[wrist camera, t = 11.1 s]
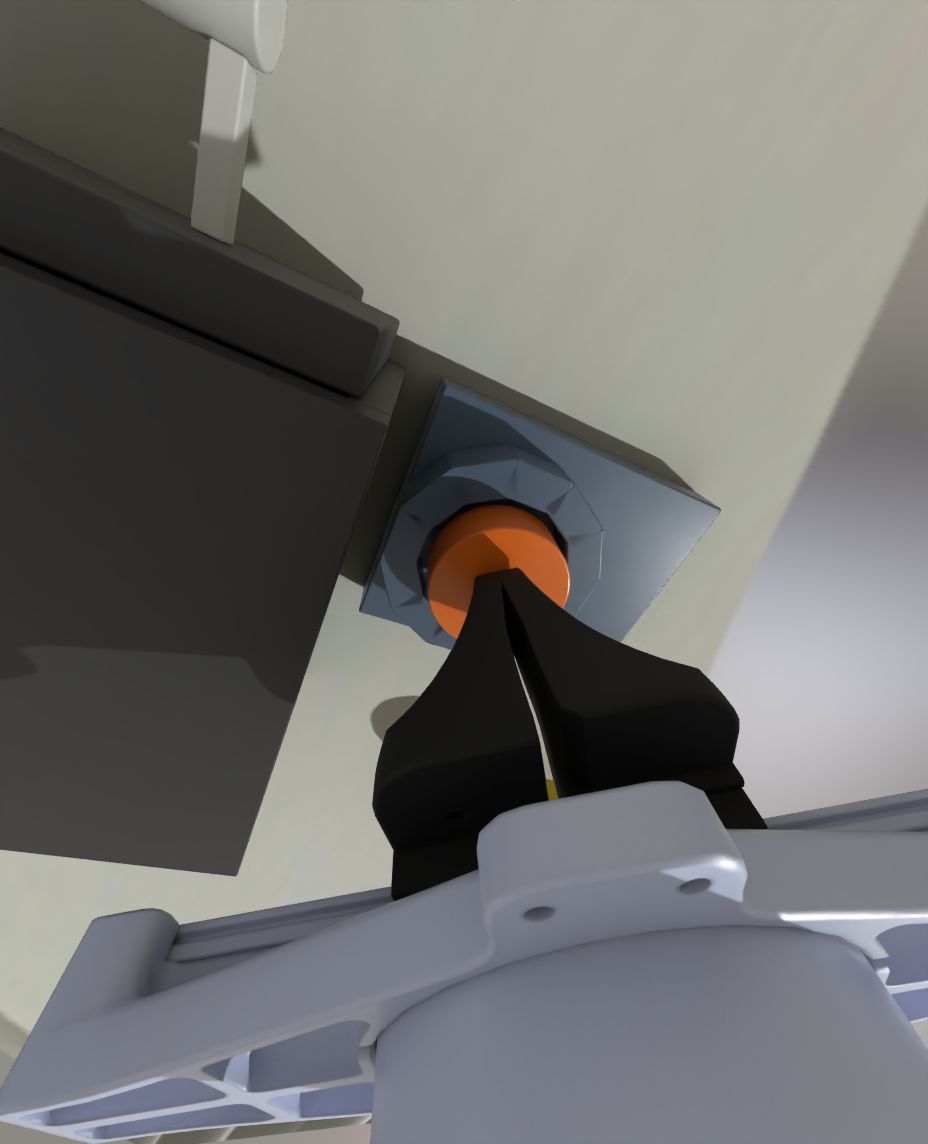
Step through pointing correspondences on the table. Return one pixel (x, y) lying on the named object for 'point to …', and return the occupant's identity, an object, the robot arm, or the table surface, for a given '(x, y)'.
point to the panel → (534, 513)
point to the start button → (491, 559)
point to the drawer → (195, 227)
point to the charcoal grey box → (158, 572)
